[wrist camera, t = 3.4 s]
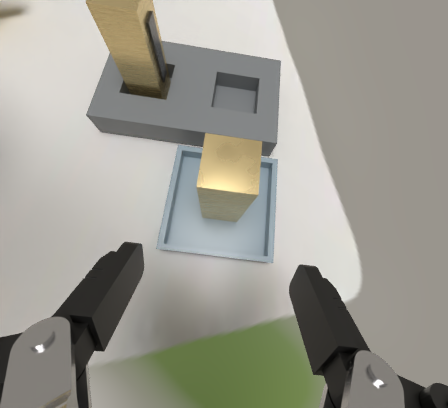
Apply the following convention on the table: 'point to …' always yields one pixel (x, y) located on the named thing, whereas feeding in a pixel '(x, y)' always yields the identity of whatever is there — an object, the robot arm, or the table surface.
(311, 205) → the table surface
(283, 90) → the table surface
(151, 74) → the seated billet
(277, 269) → the table surface
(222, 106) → the grey slotted fixture block
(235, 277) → the table surface
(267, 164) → the light blue tray
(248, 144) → the brass billet
